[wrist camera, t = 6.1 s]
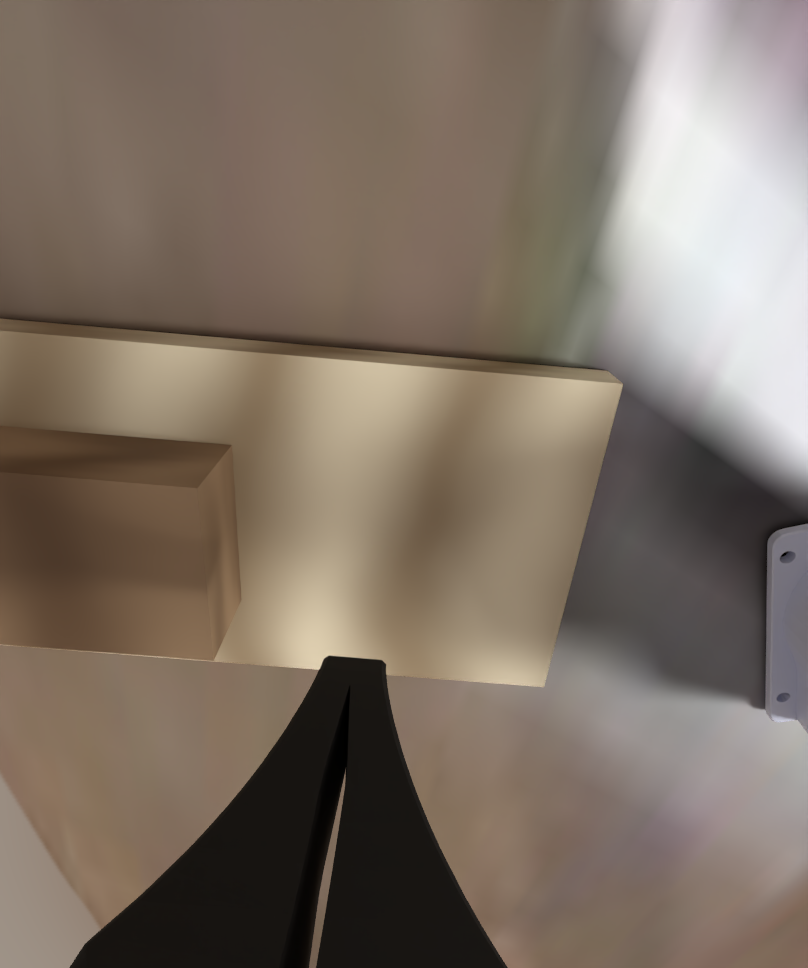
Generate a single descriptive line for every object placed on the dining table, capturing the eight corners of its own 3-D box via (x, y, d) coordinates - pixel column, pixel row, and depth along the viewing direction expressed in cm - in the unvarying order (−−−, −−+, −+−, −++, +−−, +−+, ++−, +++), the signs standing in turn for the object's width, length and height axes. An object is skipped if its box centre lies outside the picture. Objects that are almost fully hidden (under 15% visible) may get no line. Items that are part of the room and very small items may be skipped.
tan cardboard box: (232, 445, 17) (197, 488, 14) (241, 600, 20) (213, 660, 17) (-28, 423, 17) (-112, 462, 14) (16, 582, 20) (-47, 640, 17)
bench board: (607, 370, 17) (623, 383, 16) (536, 658, 23) (544, 687, 21) (-100, 310, 17) (-144, 318, 16) (-5, 616, 22) (-32, 642, 21)
